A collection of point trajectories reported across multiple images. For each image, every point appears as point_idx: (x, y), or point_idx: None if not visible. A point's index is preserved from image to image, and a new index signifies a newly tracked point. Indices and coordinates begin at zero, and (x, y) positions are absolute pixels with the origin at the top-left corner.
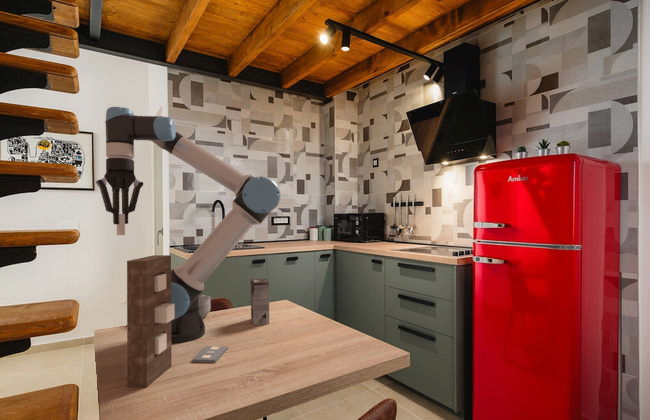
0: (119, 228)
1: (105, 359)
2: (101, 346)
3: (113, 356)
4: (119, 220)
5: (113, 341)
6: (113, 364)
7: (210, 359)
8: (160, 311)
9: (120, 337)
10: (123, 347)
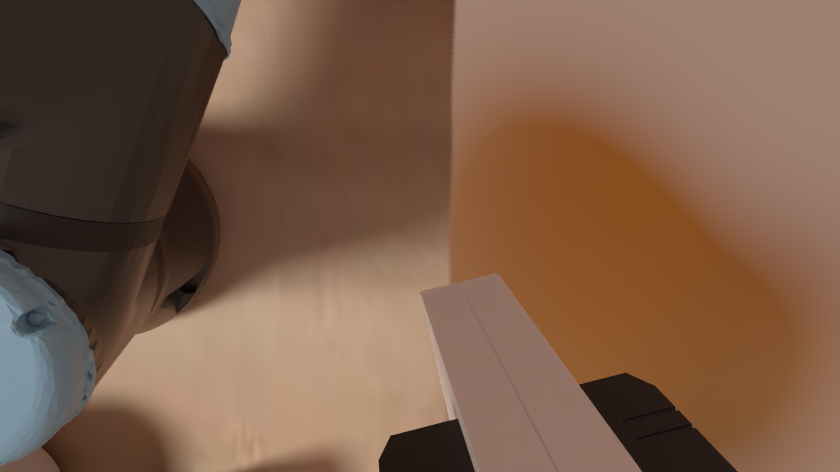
0: (528, 317)
1: (437, 100)
2: (443, 272)
3: (408, 118)
4: (582, 390)
5: (398, 311)
6: (413, 20)
7: None
8: None
9: (369, 349)
10: (366, 208)
